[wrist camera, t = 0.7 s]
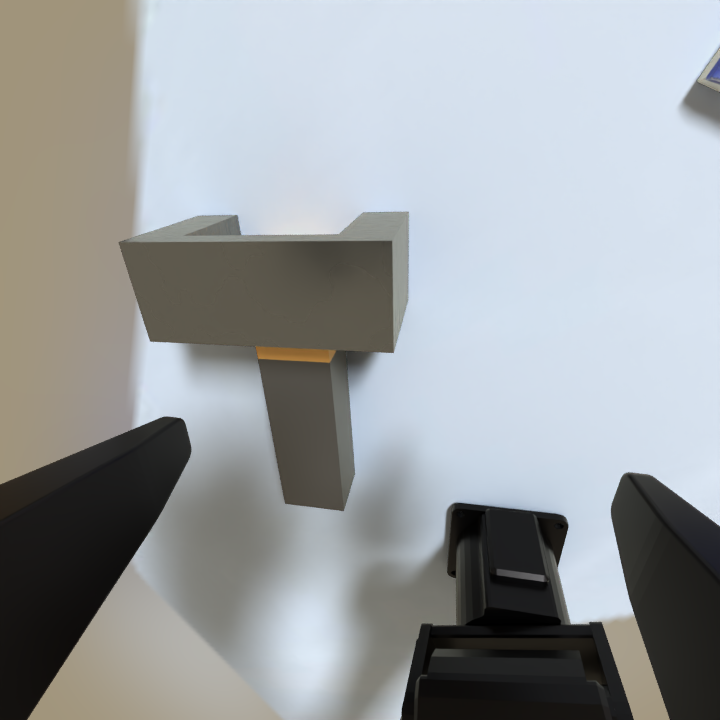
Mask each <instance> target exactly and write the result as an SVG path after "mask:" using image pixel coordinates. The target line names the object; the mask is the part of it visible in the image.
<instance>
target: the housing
mask: <svg viewBox="0 0 720 720" xmlns="http://www.w3.org/2000/svg"><path fill="white" fill-rule="evenodd" d="M119 245H120V248H121V252H122V255H123V258H124V261H125V264H126V267H127V270H128V274H129V277H130V280H131V283H132V286H133V289H134V292H135V295H136V299H137V302H138V305H139V308H140V311H141V314H142V317H143V321H144V324H145V327H146V330H147V333H148V336H149V339H150V341H151V342H172V343H194V344H215V345H236V346H258V347H279V348H300V349H321V350H343V351H364V352H385V353H394V350H395V346H396V343H397V339H398V335H399V332H400V328H401V324H402V321H403V317H404V314H405V310H406V306H407V303H408V256H409V212H368V213H362V214H361V215H360V216H359V217H358V218H357V219H355V220H354V221H353V222H352V223H351V224H350V225H349V226H348V227H346V228H345V229H344V230H343V231H342V232H341V233H340V234H333V235H241V233H240V228H239V222H238V217H237V215H214V216H196V217H193V218H190V219H187V220H184V221H181V222H178V223H175V224H172V225H169V226H166V227H163V228H160V229H157V230H154V231H151V232H148V233H145V234H142V235H139V236H136V237H133V238H130V239H127V240H124V241H121V242H119Z"/></svg>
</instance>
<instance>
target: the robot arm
mask: <svg viewBox="0 0 720 720" xmlns="http://www.w3.org/2000/svg"><path fill="white" fill-rule="evenodd" d="M190 455H191V444H190V440H189V436H188V432H187V428H186V424H185V422H184V420H183V419H181V418H176V417H162V418H159V419H157V420H154V421H152V422H150V423H147V424H145V425H142V426H140V427H137V428H135V429H133V430H130V431H128V432H125V433H123V434H121V435H118V436H116V437H114V438H111V439H109V440H106V441H104V442H101V443H99V444H97V445H94V446H92V447H89V448H87V449H85V450H82V451H80V452H77V453H75V454H73V455H70V456H68V457H65V458H63V459H60V460H58V461H56V462H53V463H51V464H49V465H46V466H44V467H41V468H39V469H36V470H34V471H32V472H29V473H27V474H25V475H22V476H20V477H17V478H15V479H13V480H10V481H8V482H5V483H3V484H0V720H27V719H28V718H29V716H30V715H31V713H32V711H33V710H34V708H35V707H36V705H37V704H38V702H39V701H40V699H41V698H42V696H43V694H44V693H45V691H46V690H47V688H48V687H49V685H50V684H51V682H52V681H53V679H54V678H55V676H56V675H57V673H58V671H59V669H60V668H61V667H62V665H63V664H64V662H65V661H66V659H67V658H68V656H69V655H70V653H71V652H72V650H73V648H74V647H75V645H76V644H77V642H78V641H79V639H80V638H81V636H82V634H83V633H84V632H85V630H86V628H87V627H88V625H89V624H90V622H91V621H92V619H93V618H94V616H95V614H96V613H97V611H98V610H99V608H100V607H101V605H102V604H103V602H104V601H105V599H106V598H107V596H108V595H109V593H110V591H111V590H112V588H113V587H114V585H115V584H116V582H117V581H118V579H119V578H120V576H121V575H122V573H123V571H124V570H125V568H126V567H127V565H128V564H129V562H130V561H131V559H132V558H133V556H134V555H135V553H136V552H137V550H138V548H139V547H140V545H141V544H142V542H143V541H144V539H145V538H146V536H147V535H148V533H149V532H150V530H151V529H152V527H153V525H154V524H155V522H156V520H157V519H158V517H159V515H160V514H161V512H162V510H163V508H164V506H165V504H166V502H167V501H168V499H169V497H170V495H171V493H172V491H173V489H174V487H175V485H176V483H177V481H178V479H179V478H180V476H181V474H182V472H183V470H184V468H185V466H186V464H187V462H188V460H189V458H190ZM459 511H461V512H459ZM611 517H612V522H613V527H614V531H615V536H616V541H617V545H618V550H619V554H620V559H621V564H622V568H623V573H624V577H625V582H626V586H627V590H628V595H629V599H630V602H631V605H632V608H633V612H634V615H635V618H636V621H637V624H638V626H639V629H640V632H641V635H642V638H643V641H644V644H645V647H646V650H647V653H648V656H649V659H650V662H651V665H652V668H653V671H654V674H655V677H656V680H657V683H658V685H659V688H660V692H661V695H662V698H663V701H664V703H665V706H666V709H667V712H668V715H669V718H670V720H720V526H719V525H717V524H716V523H715V522H713V521H712V520H711V519H709V518H708V517H707V516H705V515H704V514H703V513H701V512H700V511H699V510H697V509H696V508H695V507H693V506H692V505H690V504H689V503H688V502H686V501H685V500H684V499H682V498H681V497H680V496H678V495H677V494H676V493H674V492H673V491H672V490H670V489H669V488H668V487H666V486H665V485H664V484H662V483H661V482H660V481H658V480H657V479H656V478H654V477H653V476H651V475H647V474H639V473H631V472H628V473H625V474H624V475H623V476H622V478H621V480H620V483H619V485H618V488H617V491H616V494H615V497H614V499H613V502H612V506H611ZM557 523H559V524H557ZM567 531H568V522H567V519H566V518H565V517H564V516H563V515H558V514H550V513H541V512H532V511H523V510H515V509H506V508H497V507H488V506H480V505H471V504H462V503H457V504H455V505H453V507H452V514H451V527H450V540H449V552H448V565H447V573H448V575H449V576H451V577H453V578H456V625H434V626H433V624H422V625H421V629H420V633H419V638H418V639H417V641H416V646H415V651H414V655H413V660H412V664H411V669H410V674H409V678H408V683H407V688H406V692H405V697H404V701H403V706H402V716H401V719H400V720H634V719H633V716H632V713H631V709H630V706H629V703H628V700H627V697H626V694H625V691H624V688H623V685H622V682H621V679H620V676H619V673H618V670H617V667H616V664H615V661H614V658H613V655H612V652H611V649H610V646H609V643H608V640H607V637H606V634H605V631H604V628H603V625H602V622H589V624H571V623H570V619H569V615H568V611H567V606H566V602H565V598H564V594H563V590H562V585H561V581H560V577H559V573H558V564H559V560H560V557H561V553H562V549H563V546H564V542H565V538H566V534H567Z"/></svg>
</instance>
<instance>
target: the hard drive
mask: <svg viewBox="0 0 720 720" xmlns="http://www.w3.org/2000/svg"><path fill="white" fill-rule="evenodd" d="M697 81H698V82H699V83H701V84H703V85H705V86H707V87H709V88H711V89H714V90H716V91H718V92H720V48H719V50H718V51H717V53H716V54H715V56H714V57H713V58H712V60H711V61H710V63H709V64H708V66H707V67H706V68H705V70H704V71H703V73H702V74H701V76H700V77H699V79H698V80H697Z"/></svg>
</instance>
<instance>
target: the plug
mask: <svg viewBox="0 0 720 720" xmlns="http://www.w3.org/2000/svg"><path fill="white" fill-rule="evenodd" d="M256 351H257V356H258V362H259V367H260V372H261V378H262V383H263V388H264V394H265V399H266V404H267V410H268V415H269V420H270V426H271V431H272V436H273V442H274V447H275V452H276V458H277V463H278V468H279V474H280V479H281V484H282V490H283V495H284V500H285V504H292V505H300V506H308V507H316V508H324V509H332V510H340V511H344V509H345V506H346V502H347V499H348V496H349V492H350V489H351V485H352V482H353V479H354V475H355V468H354V454H353V440H352V427H351V413H350V399H349V386H348V372H347V358H346V351H343V350H321V349H300V348H279V347H258V346H256Z"/></svg>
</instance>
